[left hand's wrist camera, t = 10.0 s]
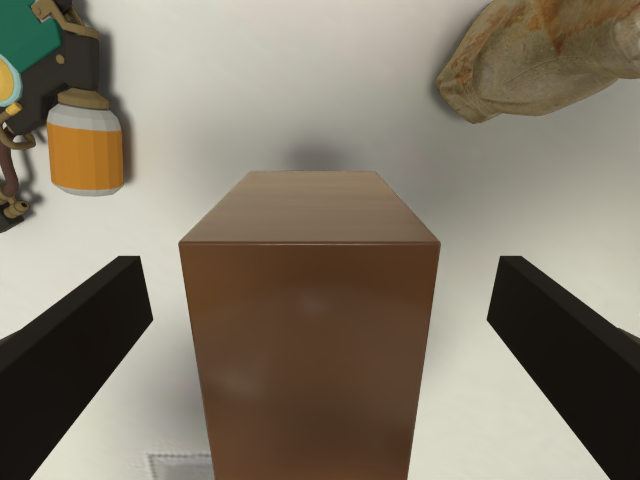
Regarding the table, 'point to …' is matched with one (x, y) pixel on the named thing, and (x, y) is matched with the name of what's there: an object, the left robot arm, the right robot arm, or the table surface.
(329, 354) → the bar
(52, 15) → the spray gun
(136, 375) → the table surface
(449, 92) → the sculpture
